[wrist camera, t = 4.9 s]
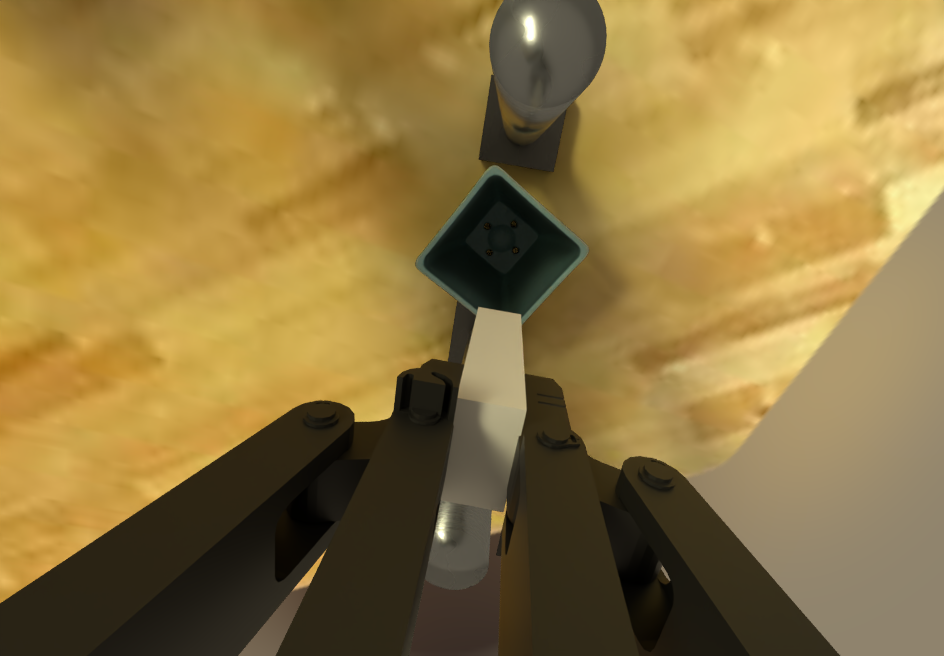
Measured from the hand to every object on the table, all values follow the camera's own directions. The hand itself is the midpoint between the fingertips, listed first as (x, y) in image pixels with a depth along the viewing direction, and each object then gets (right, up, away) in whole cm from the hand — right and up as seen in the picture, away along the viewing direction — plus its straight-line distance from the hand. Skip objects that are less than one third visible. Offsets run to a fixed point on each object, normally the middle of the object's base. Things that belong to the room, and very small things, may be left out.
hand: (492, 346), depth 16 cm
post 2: (+3, +17, +20) cm, 26 cm away
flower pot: (+2, +9, +23) cm, 25 cm away
